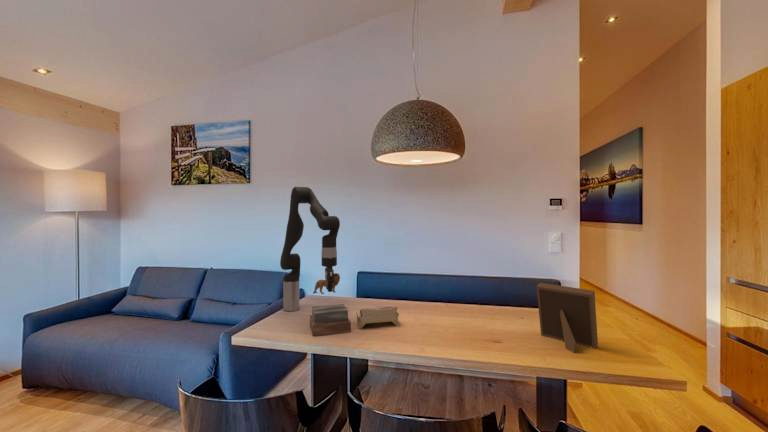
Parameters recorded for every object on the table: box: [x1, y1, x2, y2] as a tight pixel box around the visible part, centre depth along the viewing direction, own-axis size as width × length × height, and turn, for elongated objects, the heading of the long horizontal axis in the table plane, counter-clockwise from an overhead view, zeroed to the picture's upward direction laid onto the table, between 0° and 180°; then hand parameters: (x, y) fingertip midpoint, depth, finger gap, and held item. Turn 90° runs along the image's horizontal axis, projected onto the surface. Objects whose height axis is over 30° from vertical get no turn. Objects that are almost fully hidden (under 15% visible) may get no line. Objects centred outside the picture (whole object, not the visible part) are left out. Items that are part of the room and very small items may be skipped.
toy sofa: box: [355, 306, 400, 330], centre depth 166 cm, size 21×9×10 cm, turn 105°
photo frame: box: [536, 282, 599, 353], centre depth 141 cm, size 15×22×25 cm
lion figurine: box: [312, 272, 341, 295], centre depth 160 cm, size 15×5×9 cm, turn 127°
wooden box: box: [309, 303, 352, 337], centre depth 161 cm, size 16×18×10 cm
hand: (329, 290), depth 161 cm, fingers closed on lion figurine, 4 cm apart
